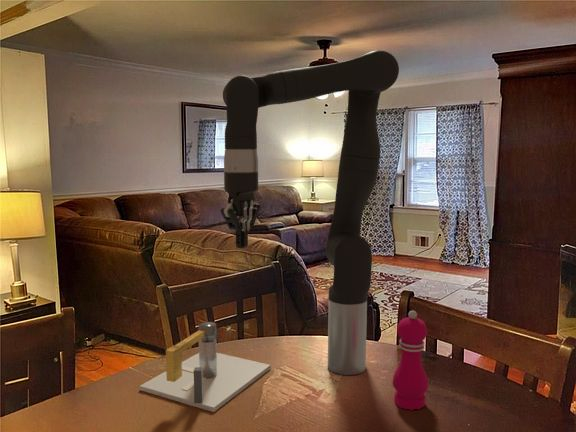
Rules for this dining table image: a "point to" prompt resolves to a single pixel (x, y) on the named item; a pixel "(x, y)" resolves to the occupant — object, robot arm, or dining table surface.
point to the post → (208, 358)
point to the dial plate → (207, 382)
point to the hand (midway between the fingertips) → (241, 247)
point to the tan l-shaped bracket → (174, 353)
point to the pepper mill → (411, 364)
